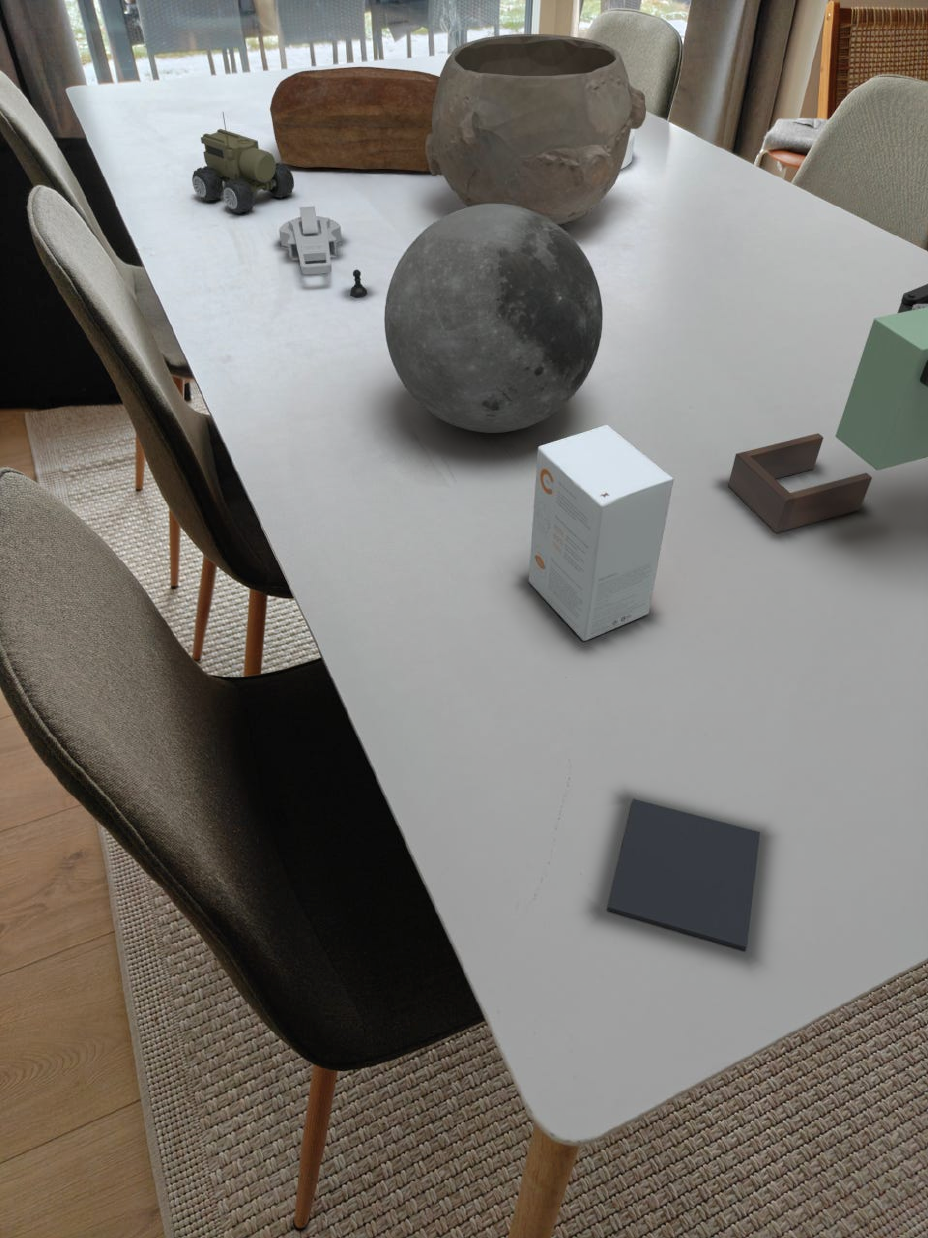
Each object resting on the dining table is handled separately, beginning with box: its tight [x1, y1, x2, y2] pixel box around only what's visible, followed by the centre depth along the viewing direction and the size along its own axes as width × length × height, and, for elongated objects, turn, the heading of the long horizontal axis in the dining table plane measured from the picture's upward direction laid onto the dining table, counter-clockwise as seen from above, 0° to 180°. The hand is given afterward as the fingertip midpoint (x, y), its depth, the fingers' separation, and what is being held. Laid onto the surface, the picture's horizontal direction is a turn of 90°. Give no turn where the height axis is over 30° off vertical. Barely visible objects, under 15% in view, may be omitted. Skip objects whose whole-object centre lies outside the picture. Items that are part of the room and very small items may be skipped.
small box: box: [528, 424, 674, 642], centre depth 70 cm, size 8×6×13 cm
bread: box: [269, 66, 440, 172], centre depth 141 cm, size 14×28×12 cm, turn 86°
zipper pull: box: [278, 206, 343, 275], centre depth 118 cm, size 8×18×4 cm, turn 10°
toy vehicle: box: [191, 112, 295, 215], centre depth 130 cm, size 10×11×12 cm
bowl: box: [426, 33, 647, 226], centre depth 122 cm, size 27×29×20 cm
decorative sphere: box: [383, 204, 604, 434], centre depth 86 cm, size 20×20×20 cm
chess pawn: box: [349, 269, 368, 298], centre depth 111 cm, size 2×2×3 cm
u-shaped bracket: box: [727, 432, 873, 534], centre depth 82 cm, size 9×7×4 cm
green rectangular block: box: [835, 307, 928, 471], centre depth 69 cm, size 7×5×10 cm
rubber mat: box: [607, 798, 760, 951], centre depth 57 cm, size 8×8×1 cm
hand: (899, 353), depth 67 cm, fingers closed on green rectangular block, 5 cm apart
